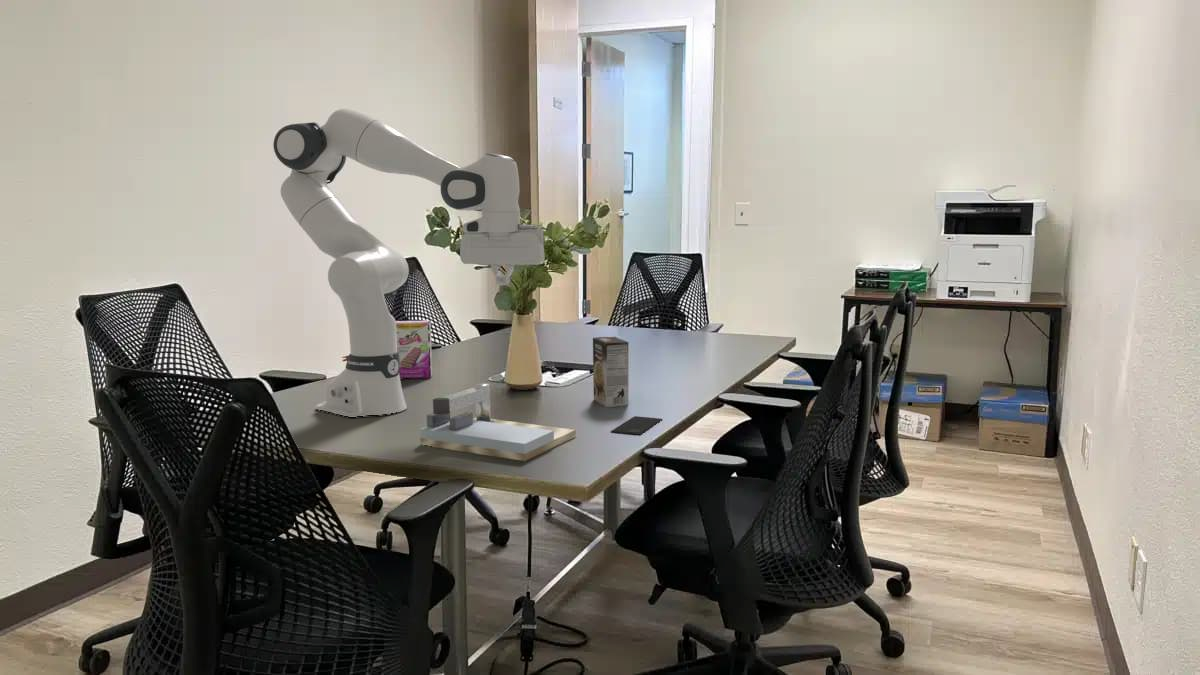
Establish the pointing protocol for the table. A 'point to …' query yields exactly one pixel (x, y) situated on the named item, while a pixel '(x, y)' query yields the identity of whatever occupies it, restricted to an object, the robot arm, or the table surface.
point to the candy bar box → (414, 349)
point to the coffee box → (610, 371)
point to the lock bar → (466, 402)
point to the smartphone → (636, 425)
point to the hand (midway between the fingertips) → (503, 283)
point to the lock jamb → (491, 436)
